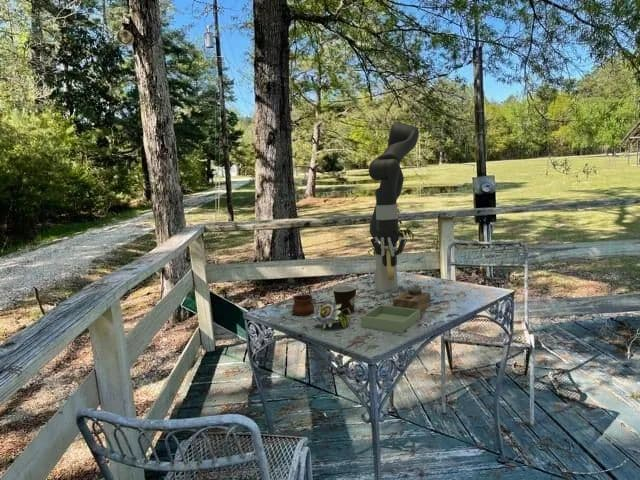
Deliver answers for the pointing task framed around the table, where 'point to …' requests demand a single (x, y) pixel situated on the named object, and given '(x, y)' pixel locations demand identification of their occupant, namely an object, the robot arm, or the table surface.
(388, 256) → the pin
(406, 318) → the pin tray
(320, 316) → the passion flower
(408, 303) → the block
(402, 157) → the robot arm
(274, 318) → the table surface
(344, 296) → the coffee mug
